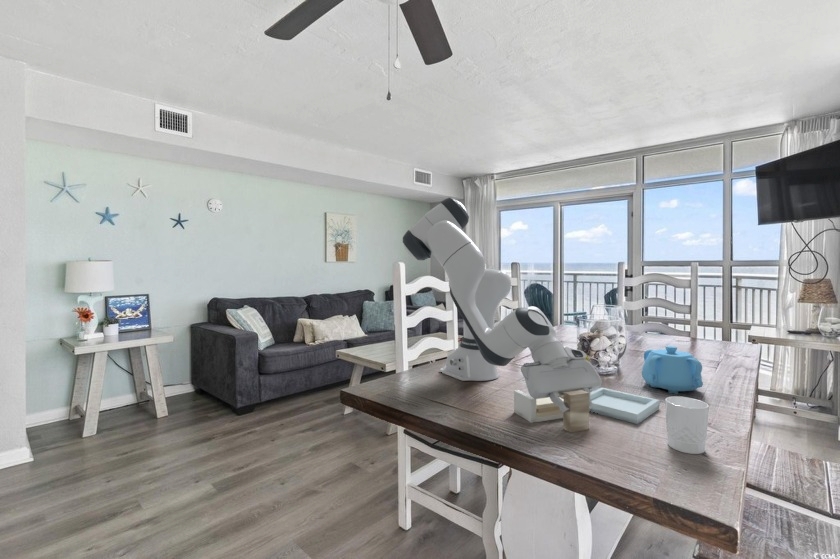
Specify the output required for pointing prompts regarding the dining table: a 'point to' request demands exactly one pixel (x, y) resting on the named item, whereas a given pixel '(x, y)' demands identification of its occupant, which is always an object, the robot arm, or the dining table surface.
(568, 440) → the dining table surface
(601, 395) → the ceramic tray
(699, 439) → the white cup
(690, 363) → the decorative pot
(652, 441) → the dining table surface
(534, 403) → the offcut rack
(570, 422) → the upright wood block
